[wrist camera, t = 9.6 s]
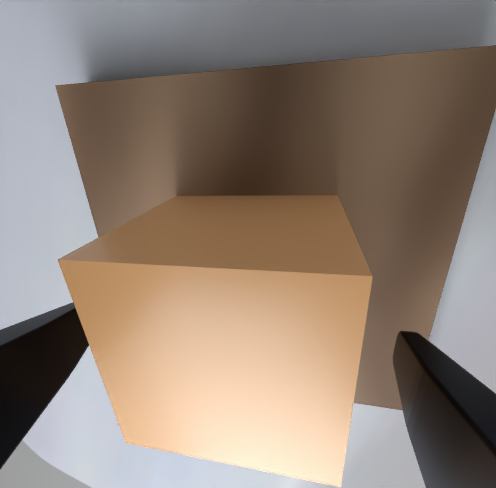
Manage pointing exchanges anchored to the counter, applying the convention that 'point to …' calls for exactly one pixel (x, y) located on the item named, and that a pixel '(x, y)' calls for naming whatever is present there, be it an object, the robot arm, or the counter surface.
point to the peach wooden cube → (230, 328)
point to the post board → (308, 161)
